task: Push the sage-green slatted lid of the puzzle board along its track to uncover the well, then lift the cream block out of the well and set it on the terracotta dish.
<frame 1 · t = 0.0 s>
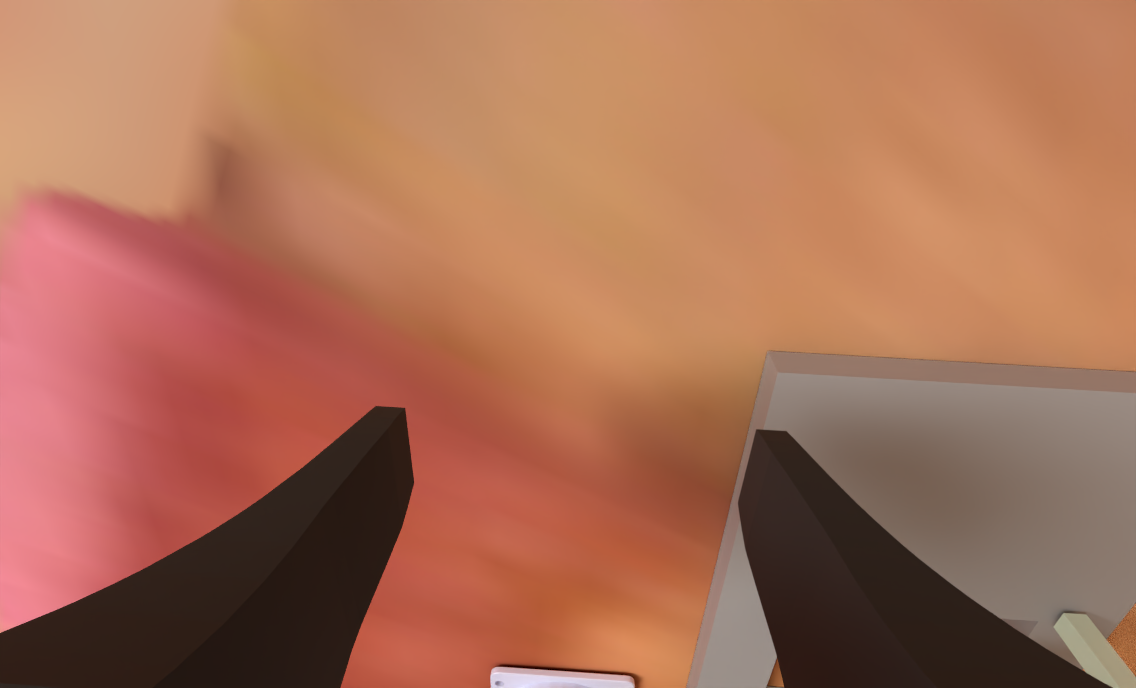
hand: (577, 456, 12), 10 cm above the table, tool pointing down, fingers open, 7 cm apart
puzzle board: (912, 564, 28), on the table
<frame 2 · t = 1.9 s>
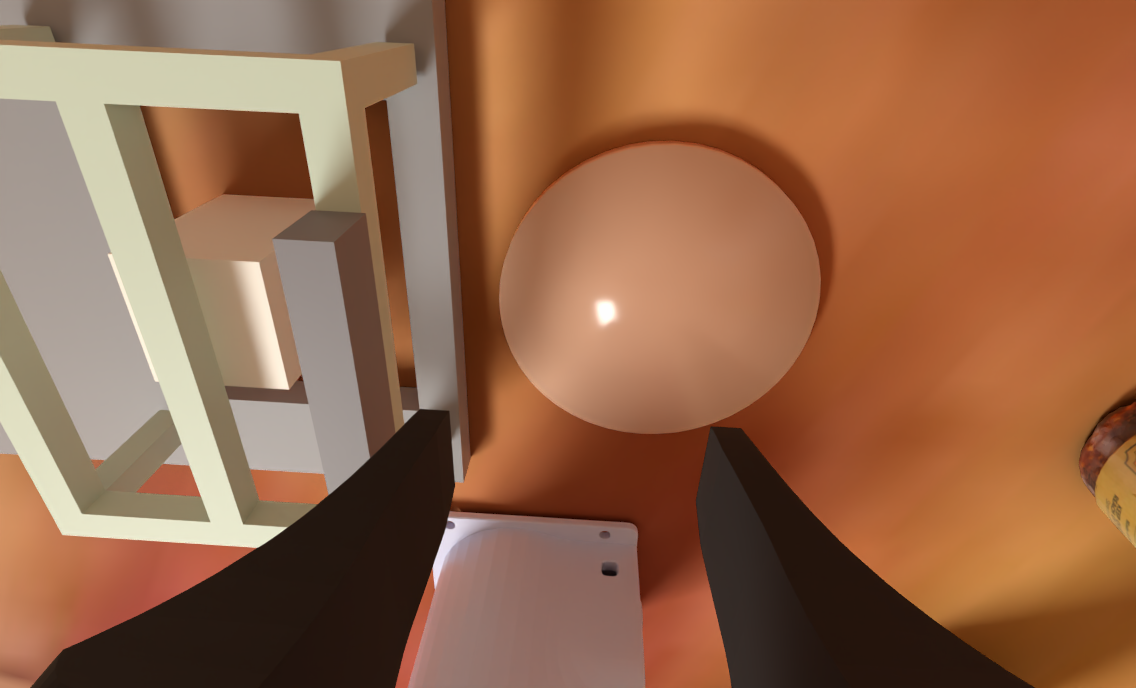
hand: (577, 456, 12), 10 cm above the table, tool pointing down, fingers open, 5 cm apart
puzzle board: (125, 244, 21), on the table
cream block: (292, 252, 21), resting in puzzle board
terracotta dish: (654, 299, 21), on the table
slatted lid: (208, 323, 17), point 5 cm above the table, slide at 0.0 cm
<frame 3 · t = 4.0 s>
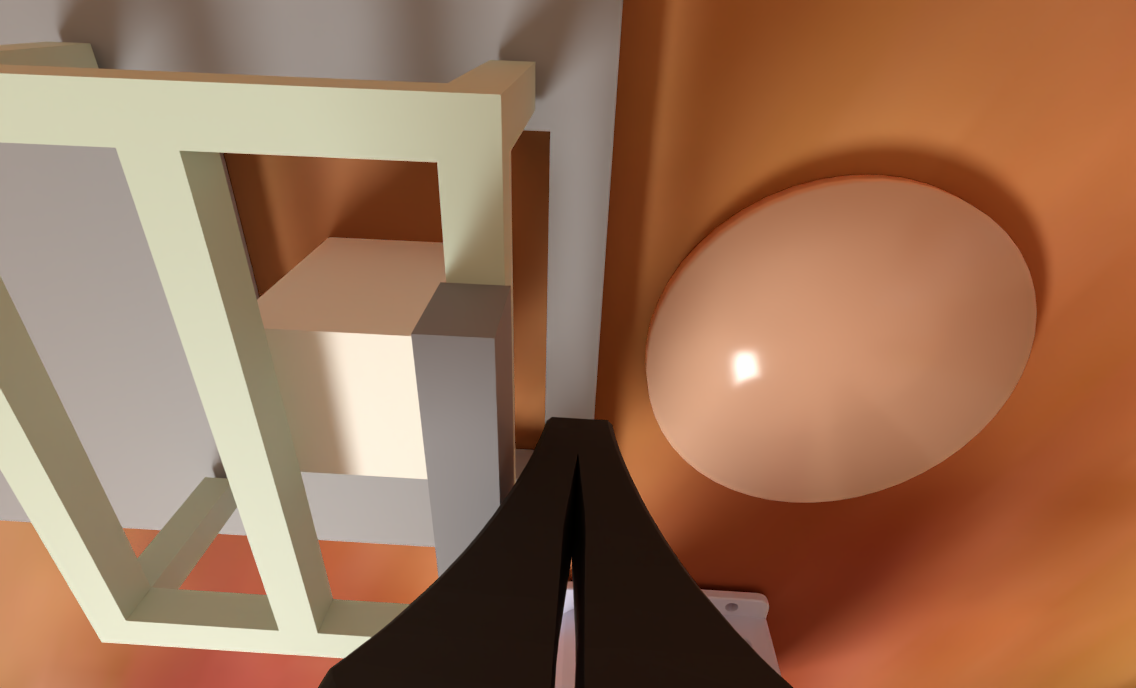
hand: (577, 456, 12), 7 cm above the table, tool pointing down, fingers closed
puzzle board: (211, 293, 18), on the table
cream block: (404, 301, 18), resting in puzzle board
terracotta dish: (824, 353, 18), on the table
slatted lid: (282, 401, 14), point 5 cm above the table, slide at 1.3 cm, touching gripper
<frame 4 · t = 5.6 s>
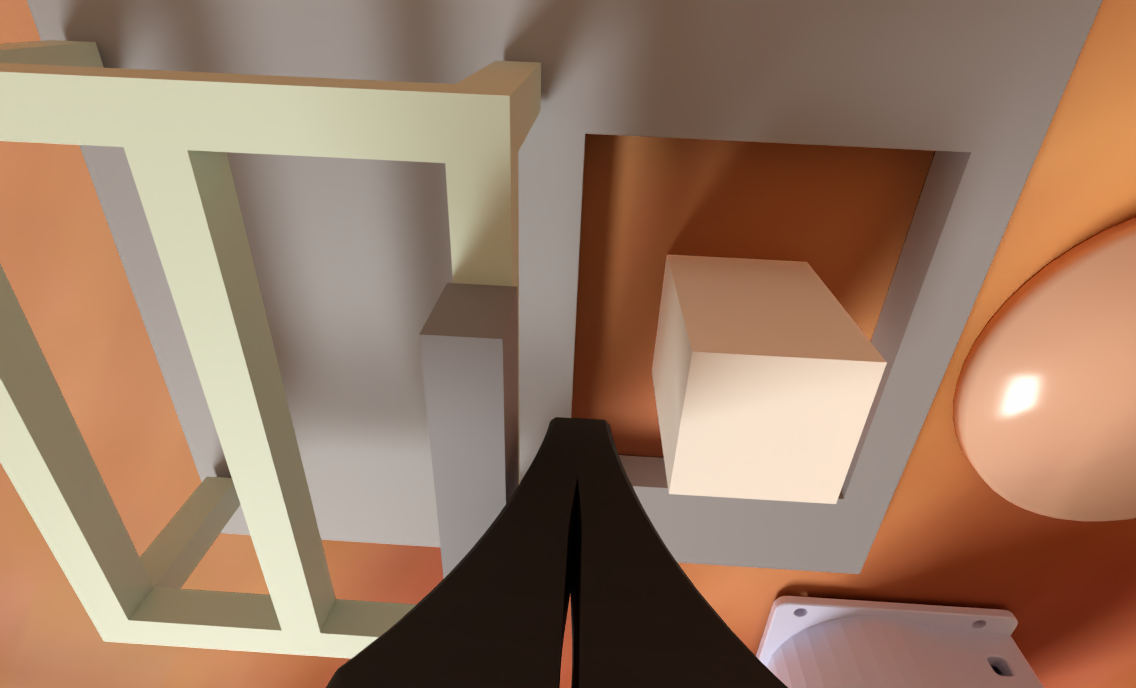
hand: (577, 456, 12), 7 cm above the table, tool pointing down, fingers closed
puzzle board: (527, 309, 18), on the table
cream block: (724, 319, 18), resting in puzzle board
slatted lid: (287, 401, 14), point 5 cm above the table, slide at 11.0 cm, touching gripper
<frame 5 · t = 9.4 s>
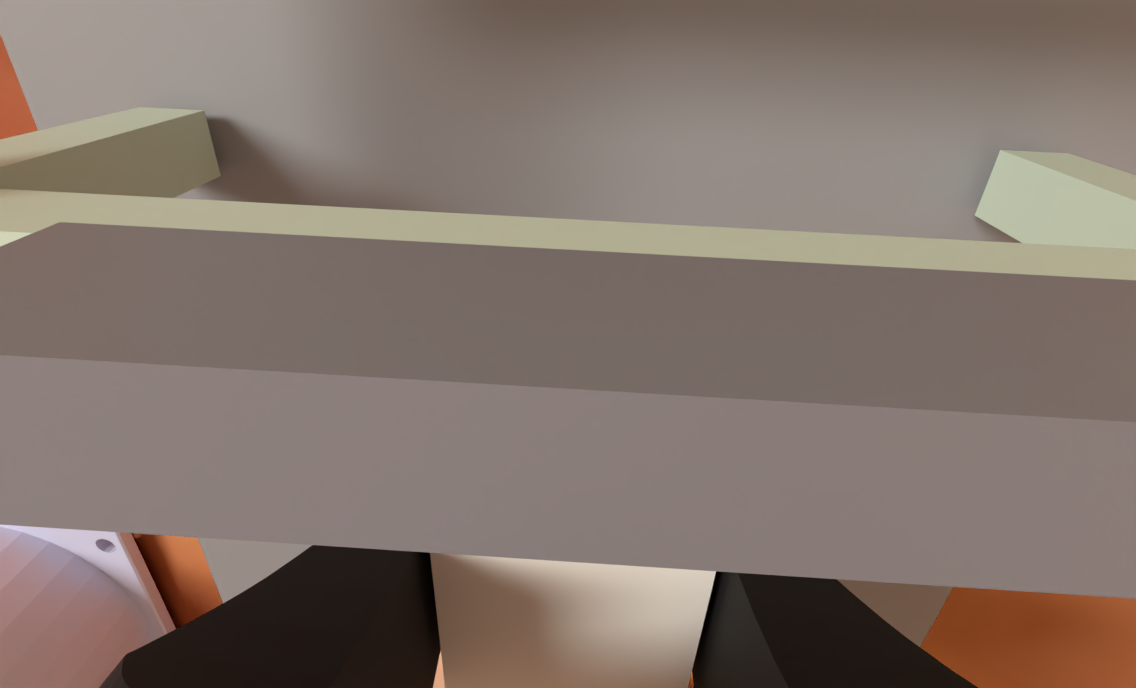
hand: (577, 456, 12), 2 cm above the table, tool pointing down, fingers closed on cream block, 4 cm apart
puzzle board: (595, 141, 11), on the table
cream block: (579, 409, 14), resting in puzzle board, touching gripper
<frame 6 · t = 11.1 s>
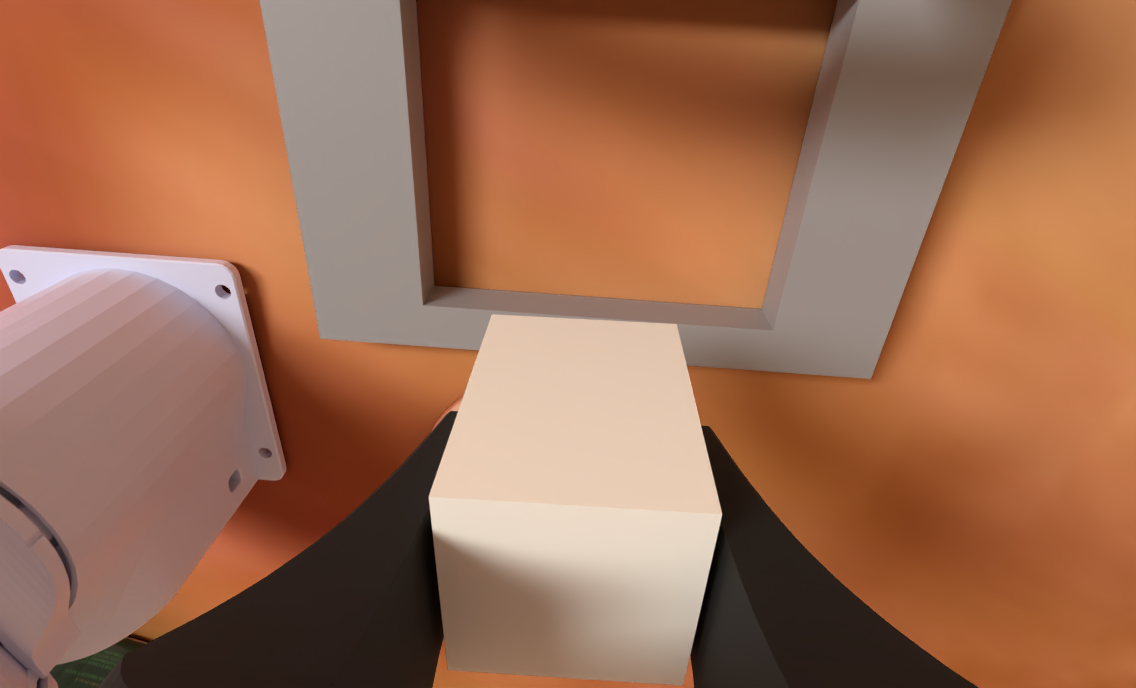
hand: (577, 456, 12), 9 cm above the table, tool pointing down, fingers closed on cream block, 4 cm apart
coffee jar: (134, 674, 33), on the table
cream block: (579, 395, 14), point 7 cm above the table, touching gripper
when the fingers open (4 cm above the table, at t = 13.0 s): cream block stays where it is, resting on terracotta dish.
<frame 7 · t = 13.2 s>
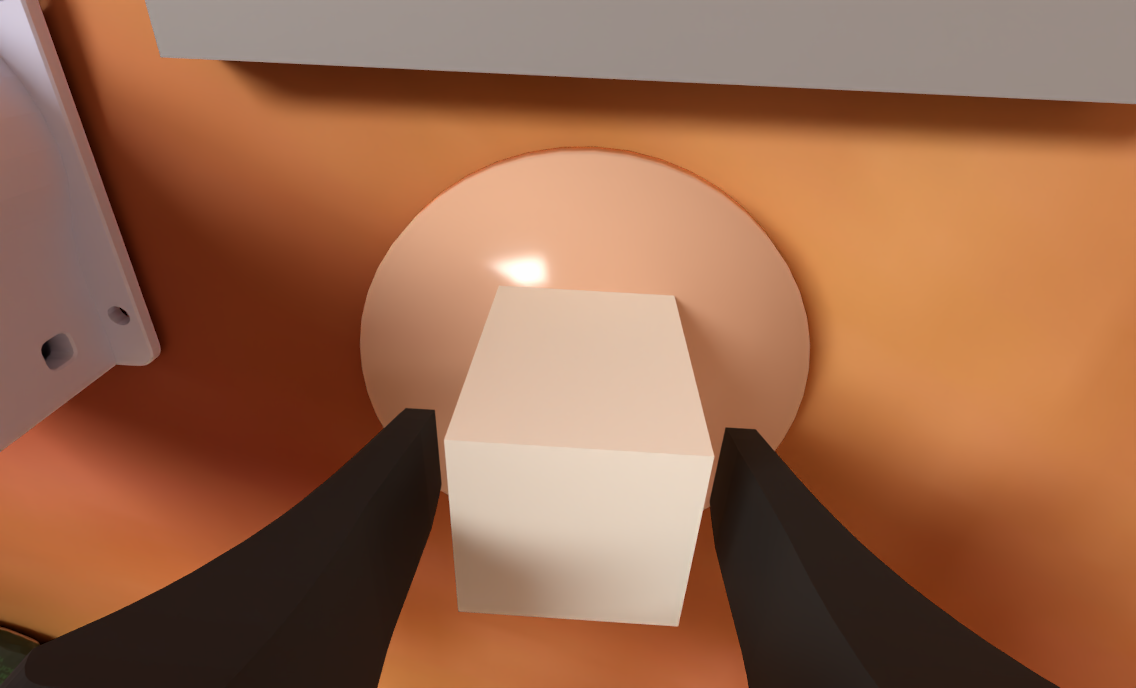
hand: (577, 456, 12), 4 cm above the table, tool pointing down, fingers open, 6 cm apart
coffee jar: (8, 675, 25), on the table
cream block: (581, 364, 15), point 1 cm above the table, touching terracotta dish
terracotta dish: (581, 364, 15), on the table
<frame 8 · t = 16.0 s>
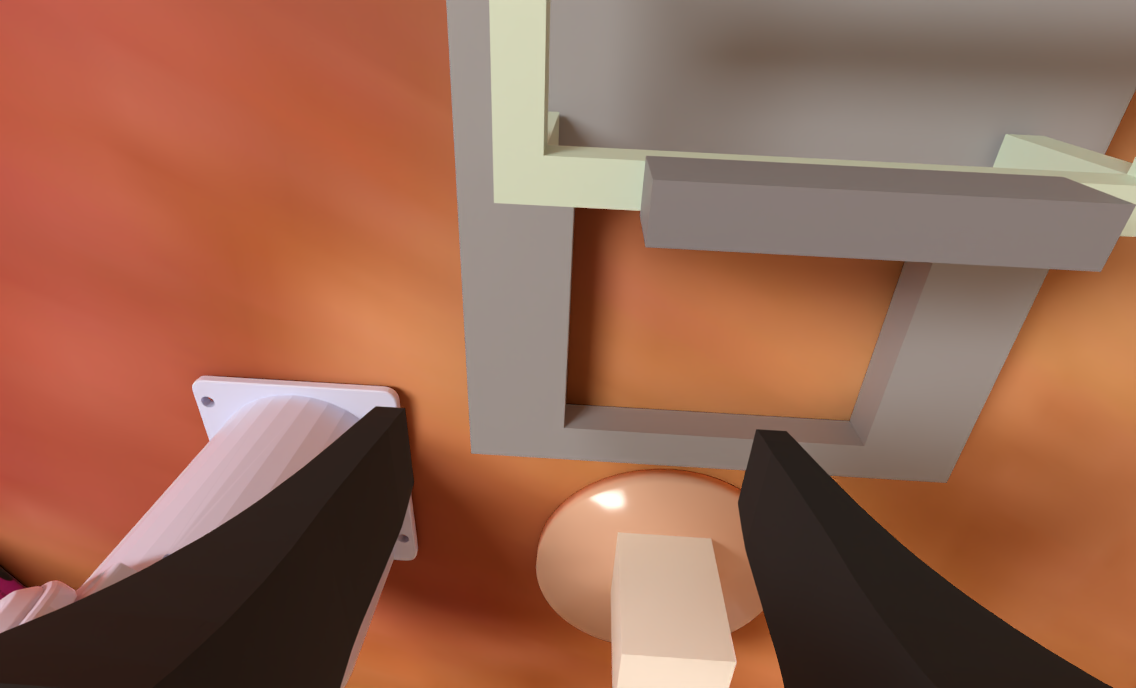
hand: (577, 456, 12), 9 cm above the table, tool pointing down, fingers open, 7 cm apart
puzzle board: (761, 130, 18), on the table
cream block: (658, 566, 26), point 1 cm above the table, touching terracotta dish
terracotta dish: (656, 559, 27), on the table
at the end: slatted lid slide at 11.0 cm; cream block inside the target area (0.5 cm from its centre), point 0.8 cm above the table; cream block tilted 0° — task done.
